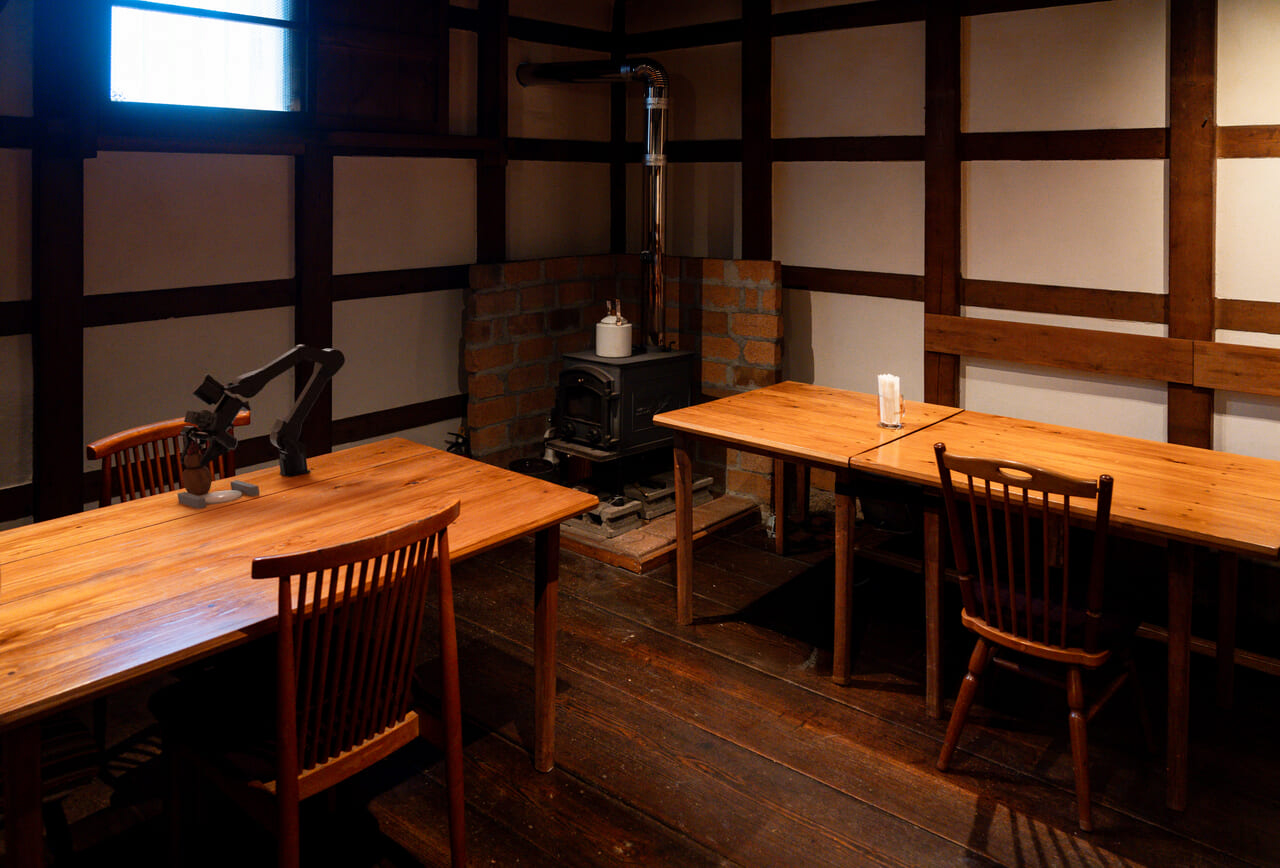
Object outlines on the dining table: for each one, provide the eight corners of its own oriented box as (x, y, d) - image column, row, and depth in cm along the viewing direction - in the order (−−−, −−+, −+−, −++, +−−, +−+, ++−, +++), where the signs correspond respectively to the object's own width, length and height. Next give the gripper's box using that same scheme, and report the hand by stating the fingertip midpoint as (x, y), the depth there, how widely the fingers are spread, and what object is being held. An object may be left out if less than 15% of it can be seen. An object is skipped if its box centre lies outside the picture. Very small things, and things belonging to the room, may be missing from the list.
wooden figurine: (206, 490, 266) (198, 436, 263) (216, 492, 262) (208, 437, 259) (181, 496, 261) (173, 441, 258) (192, 498, 257) (183, 442, 254)
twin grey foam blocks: (238, 488, 265) (237, 480, 265) (259, 494, 257) (258, 485, 257) (178, 502, 254) (177, 493, 253) (198, 509, 246) (197, 499, 245)
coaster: (230, 491, 263) (230, 488, 263) (249, 496, 256) (248, 493, 255) (189, 500, 255) (188, 497, 255) (207, 506, 248) (207, 503, 248)
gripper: (182, 396, 266) (148, 444, 259) (221, 399, 255) (187, 449, 248) (212, 420, 273) (180, 467, 267) (252, 424, 263) (220, 473, 256)
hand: (191, 463), depth 259 cm, fingers open, 9 cm apart
